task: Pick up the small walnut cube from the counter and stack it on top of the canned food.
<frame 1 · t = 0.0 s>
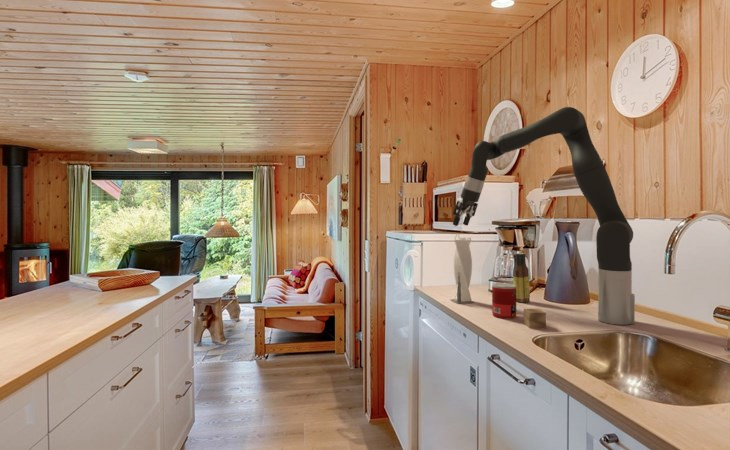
hand: (460, 225, 166), 31 cm above the countertop, tool tilted 20°, fingers open, 8 cm apart
sauce bottle: (521, 301, 158), on the countertop
skyscraper: (462, 301, 160), on the countertop
walnut cube: (534, 326, 123), on the countertop
canned food: (504, 316, 135), on the countertop
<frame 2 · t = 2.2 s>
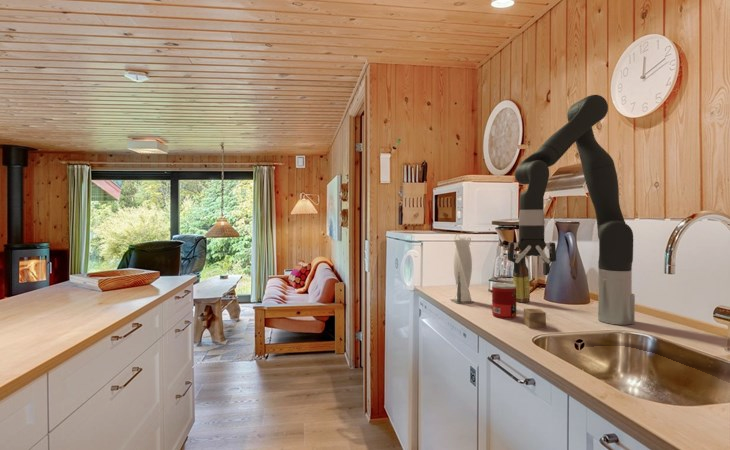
hand: (531, 274, 123), 16 cm above the countertop, tool pointing down, fingers open, 8 cm apart
nothing on the countertop moved.
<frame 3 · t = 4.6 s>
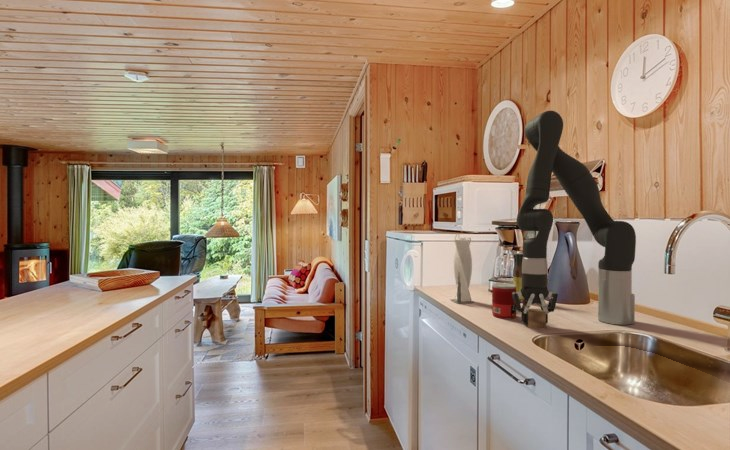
hand: (534, 324, 123), 0 cm above the countertop, tool pointing down, fingers closed on walnut cube, 5 cm apart
walnut cube: (534, 326, 123), on the countertop, touching gripper
everything else where it was.
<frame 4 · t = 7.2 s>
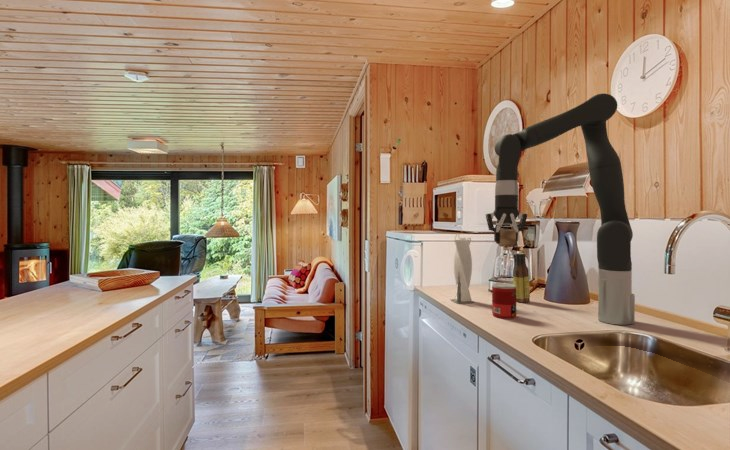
hand: (505, 242, 134), 26 cm above the countertop, tool pointing down, fingers closed on walnut cube, 5 cm apart
walnut cube: (505, 244, 134), point 25 cm above the countertop, touching gripper
everything else where it was.
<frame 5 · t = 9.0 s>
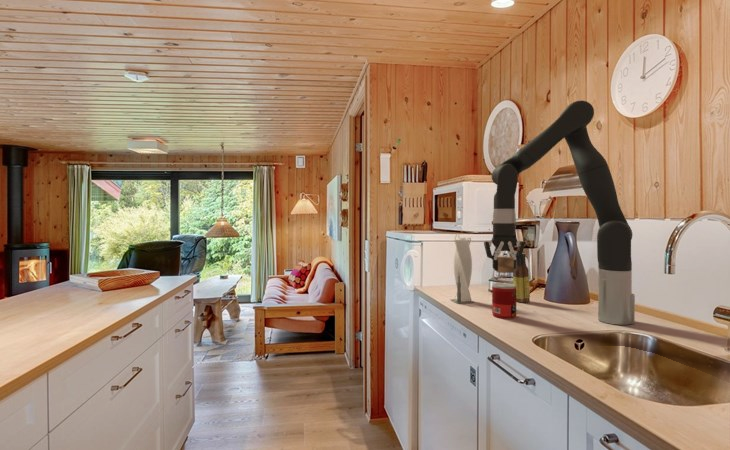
hand: (504, 270, 135), 16 cm above the countertop, tool pointing down, fingers closed on walnut cube, 5 cm apart
walnut cube: (504, 271, 135), point 16 cm above the countertop, touching gripper
everything else where it was.
when the fingers open (13 cm above the countertop, at t = 10.2 s): walnut cube drops 1 cm, resting on canned food.
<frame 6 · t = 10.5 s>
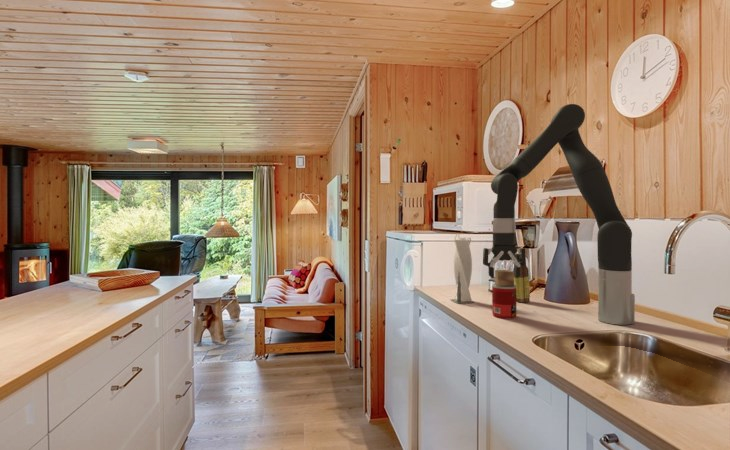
hand: (504, 277, 135), 14 cm above the countertop, tool pointing down, fingers open, 8 cm apart
walnut cube: (504, 285, 135), point 11 cm above the countertop, touching canned food
canned food: (504, 316, 135), on the countertop, touching walnut cube
everything else where it was.
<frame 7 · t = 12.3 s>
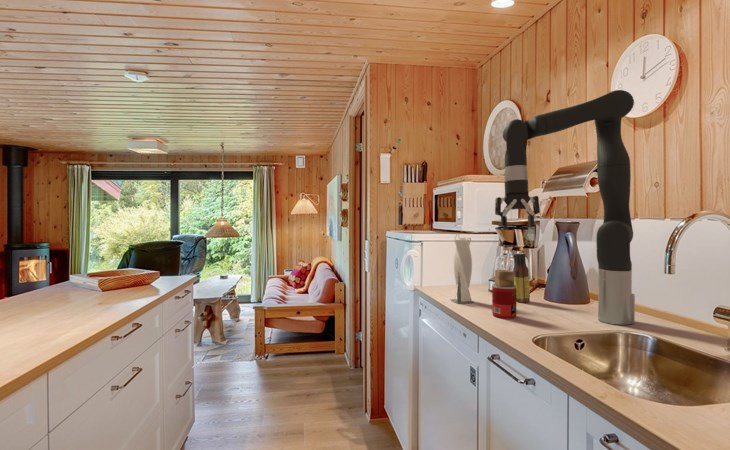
hand: (517, 227, 132), 31 cm above the countertop, tool pointing down, fingers open, 8 cm apart
nothing on the countertop moved.
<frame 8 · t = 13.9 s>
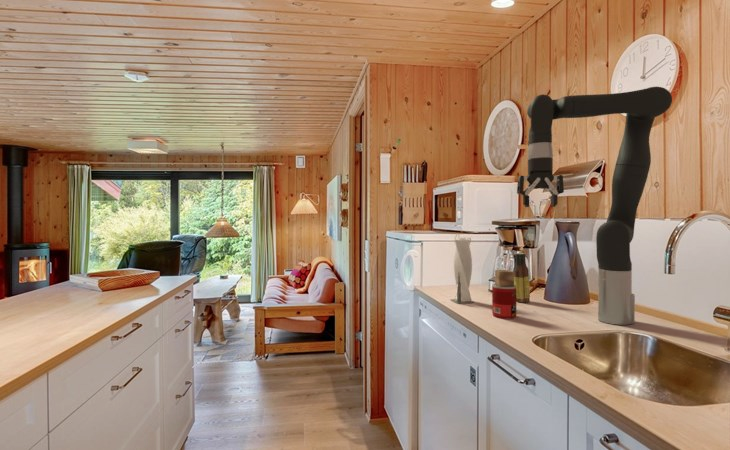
hand: (540, 206, 128), 38 cm above the countertop, tool pointing down, fingers open, 8 cm apart
nothing on the countertop moved.
at the end: walnut cube point 10.9 cm above the countertop; walnut cube 0.1 cm from the canned food (horizontally); walnut cube tilted 0° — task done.
